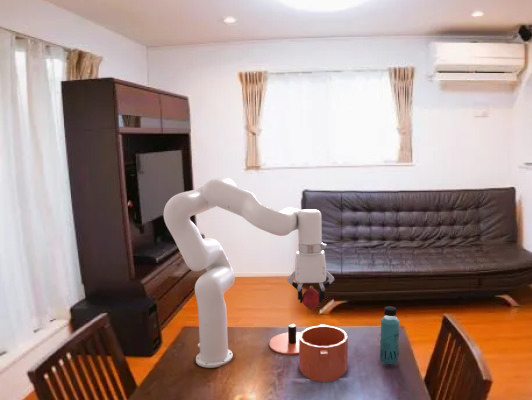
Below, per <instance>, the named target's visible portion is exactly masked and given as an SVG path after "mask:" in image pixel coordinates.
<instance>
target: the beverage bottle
mask: <svg viewBox="0 0 532 400" xmlns="http://www.w3.org/2000/svg"><path fill="white" fill-rule="evenodd" d="M383 314H384V316H383V317H381V319H380V340H379V343H380V344H379V359H380V361H381V362H382V363H384V364H387V365H394V364H396V363H398V361H399V358H400V357H399V355H400V352H399V348H400V347H399V346H400V344H399V343H400V341H399V340H400V319H399V318H398V317H397V308H396V307H395V306H391V305H389V306H388V305H387V306H385V307H384V310H383Z"/></svg>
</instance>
